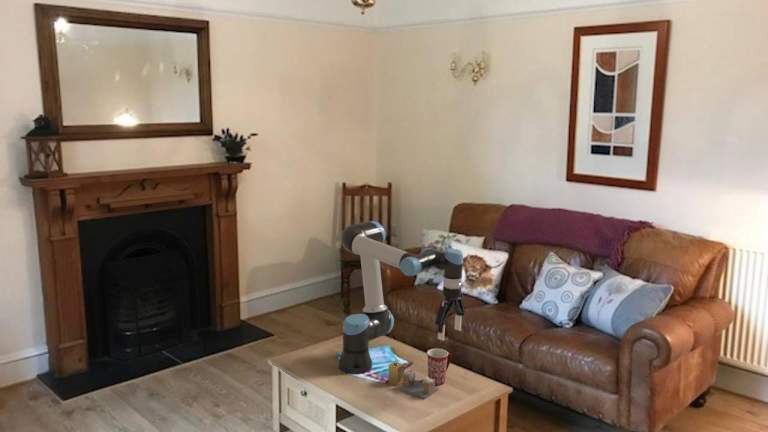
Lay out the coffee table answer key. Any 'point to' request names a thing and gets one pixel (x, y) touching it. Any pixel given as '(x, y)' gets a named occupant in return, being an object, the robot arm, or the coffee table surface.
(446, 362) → the mug
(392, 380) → the coupler
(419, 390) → the shaft bench
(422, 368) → the coffee table surface
